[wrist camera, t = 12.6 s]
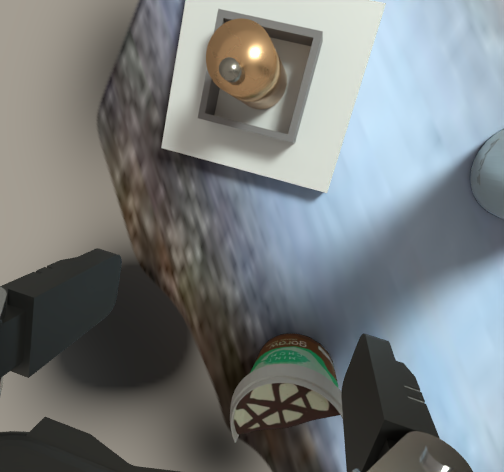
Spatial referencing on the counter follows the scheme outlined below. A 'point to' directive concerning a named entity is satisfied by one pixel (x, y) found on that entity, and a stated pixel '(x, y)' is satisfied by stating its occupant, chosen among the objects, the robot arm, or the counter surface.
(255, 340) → the counter surface
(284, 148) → the white board with frame
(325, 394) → the food container
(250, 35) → the spout can
